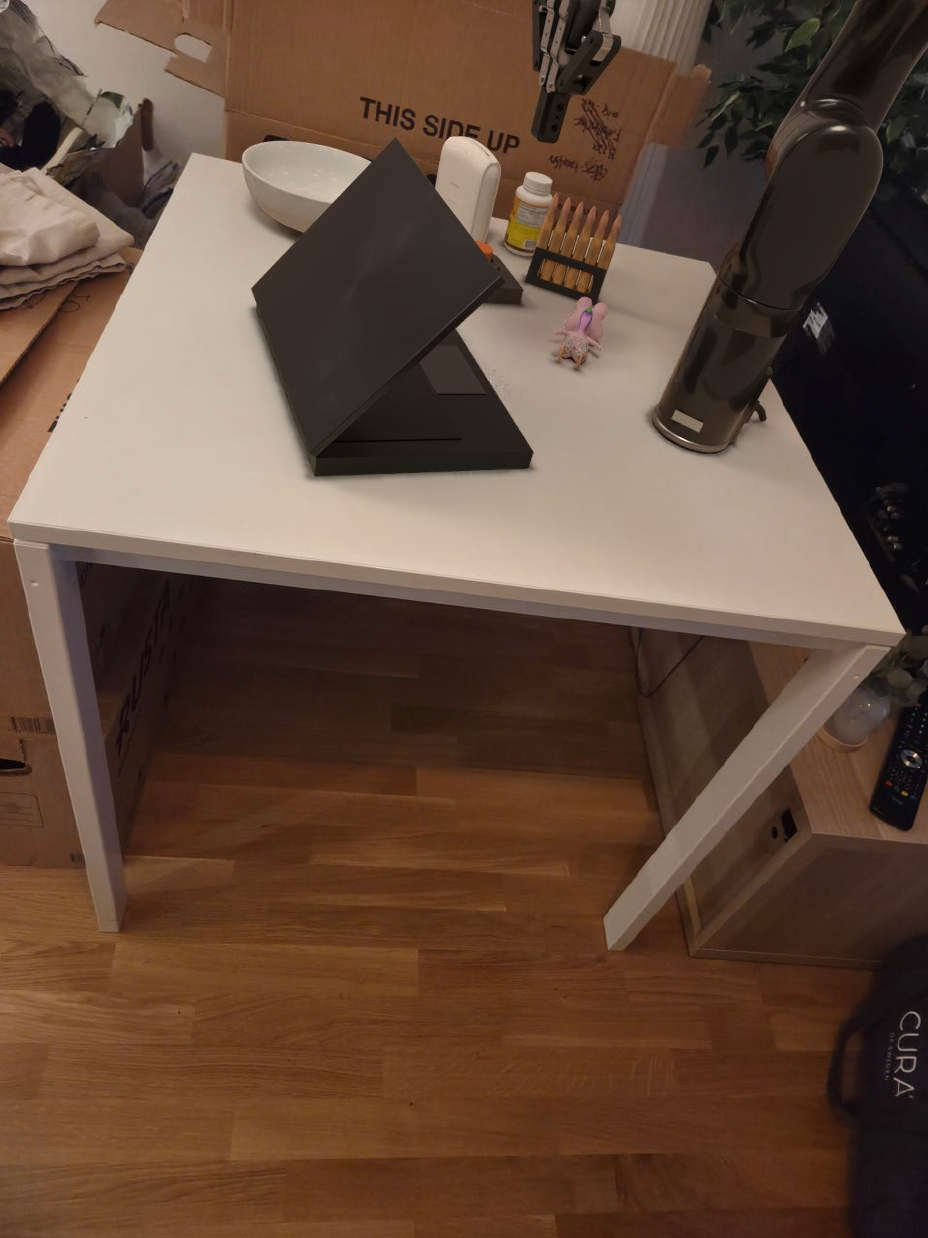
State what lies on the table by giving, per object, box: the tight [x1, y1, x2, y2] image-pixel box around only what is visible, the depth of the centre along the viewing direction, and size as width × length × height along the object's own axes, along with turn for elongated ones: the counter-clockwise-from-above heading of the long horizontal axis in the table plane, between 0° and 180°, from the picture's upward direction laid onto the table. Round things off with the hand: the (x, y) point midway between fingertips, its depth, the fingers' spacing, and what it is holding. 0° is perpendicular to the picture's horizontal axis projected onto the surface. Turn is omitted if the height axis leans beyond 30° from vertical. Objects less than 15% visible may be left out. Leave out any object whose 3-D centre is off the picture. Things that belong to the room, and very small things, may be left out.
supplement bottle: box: [503, 171, 554, 257], centre depth 115 cm, size 6×6×10 cm
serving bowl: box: [241, 140, 372, 233], centre depth 106 cm, size 21×21×7 cm
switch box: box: [483, 253, 524, 306], centre depth 104 cm, size 11×9×4 cm
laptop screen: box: [250, 136, 506, 457], centre depth 75 cm, size 22×30×1 cm
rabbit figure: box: [554, 297, 608, 371], centre depth 99 cm, size 6×6×15 cm
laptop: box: [255, 303, 535, 477], centre depth 84 cm, size 22×30×2 cm
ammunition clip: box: [524, 192, 623, 307], centre depth 107 cm, size 11×2×12 cm, turn 76°
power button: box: [475, 241, 494, 262], centre depth 103 cm, size 4×4×2 cm
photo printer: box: [434, 135, 502, 243], centre depth 113 cm, size 10×4×12 cm, turn 39°
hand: (543, 139), depth 71 cm, fingers closed
